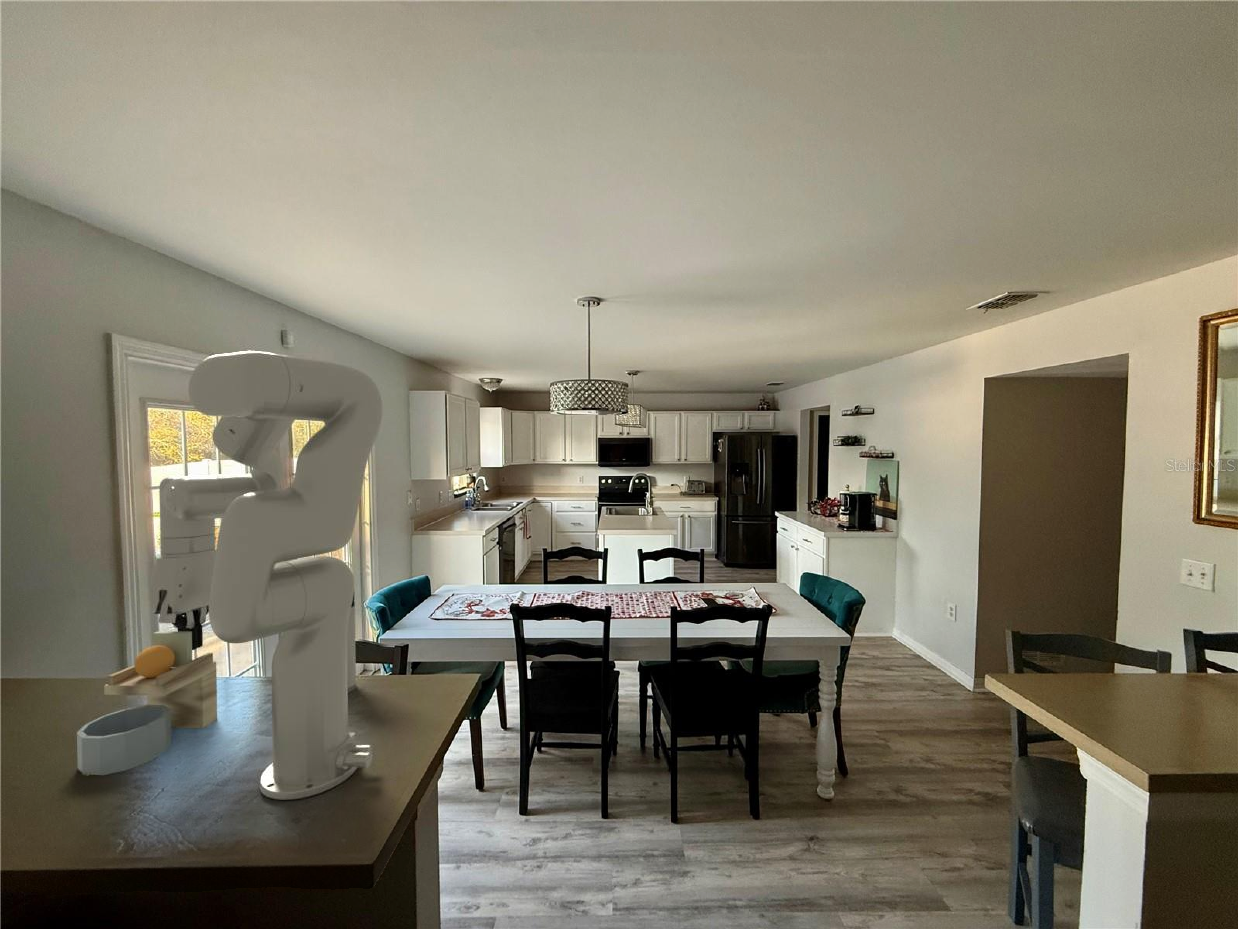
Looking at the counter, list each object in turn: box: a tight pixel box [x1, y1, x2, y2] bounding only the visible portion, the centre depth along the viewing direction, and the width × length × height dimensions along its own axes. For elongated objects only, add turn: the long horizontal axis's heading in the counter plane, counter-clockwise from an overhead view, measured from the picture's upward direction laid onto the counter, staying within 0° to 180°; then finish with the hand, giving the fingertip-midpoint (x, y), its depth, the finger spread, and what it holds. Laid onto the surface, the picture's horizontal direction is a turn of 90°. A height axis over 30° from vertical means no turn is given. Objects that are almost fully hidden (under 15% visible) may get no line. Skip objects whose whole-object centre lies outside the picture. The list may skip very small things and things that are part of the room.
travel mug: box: [347, 593, 357, 694], centre depth 104 cm, size 6×7×20 cm
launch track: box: [103, 652, 218, 729], centre depth 88 cm, size 10×10×12 cm
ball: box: [134, 645, 175, 678], centre depth 86 cm, size 5×5×5 cm
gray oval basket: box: [76, 704, 172, 776], centre depth 81 cm, size 10×10×6 cm
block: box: [152, 630, 193, 667], centre depth 90 cm, size 6×2×6 cm, turn 88°
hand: (190, 648), depth 93 cm, fingers closed
